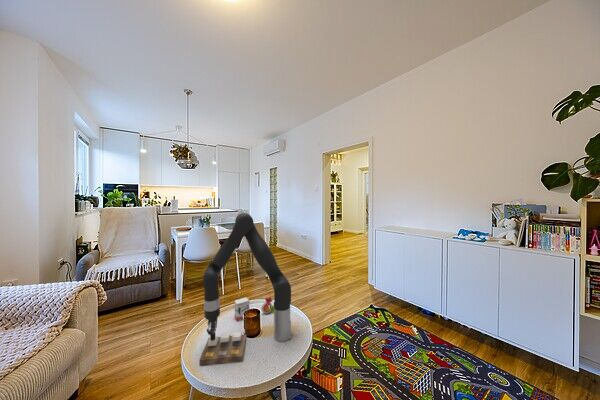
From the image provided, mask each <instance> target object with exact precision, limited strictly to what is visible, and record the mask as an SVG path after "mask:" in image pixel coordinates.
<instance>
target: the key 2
mask: <svg viewBox="0 0 600 400" xmlns="http://www.w3.org/2000/svg"><path fill="white" fill-rule="evenodd" d="M241 335H242V331H236V332H233V334H232V336H233V337H232V341H240V340H241Z"/></svg>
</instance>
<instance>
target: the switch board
mask: <svg viewBox="0 0 600 400" xmlns="http://www.w3.org/2000/svg"><path fill="white" fill-rule="evenodd" d="M217 337H218V342H217V345H215V346H208V342H209V339H210V337H208V338H207V340H206V343H205V345H204V348H203V350H202V353H201V355H200V357H199V360H198V363H199V367H202V366H203V367H205V366H211V365H212V366H215V365H223V364H225V365H226V364H232V363H243V361H244V357H245V356H244V355H245V349H246V343H247V334H241V340H240V341H232V337H233V335H230V338H229V341H228V342H220V338H221V336H217Z"/></svg>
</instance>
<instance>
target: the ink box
mask: <svg viewBox="0 0 600 400" xmlns="http://www.w3.org/2000/svg"><path fill="white" fill-rule="evenodd" d="M247 310H250V299H249V297H242V298H238V299H236V300H234V319H235V321H236V322H241V321H243V315H244V312H245V311H247Z"/></svg>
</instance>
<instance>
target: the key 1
mask: <svg viewBox="0 0 600 400" xmlns="http://www.w3.org/2000/svg"><path fill="white" fill-rule="evenodd" d="M218 337H219V336H216V338H215V340H210V339H209V342H208V346H215V345H217V342H218Z"/></svg>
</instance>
